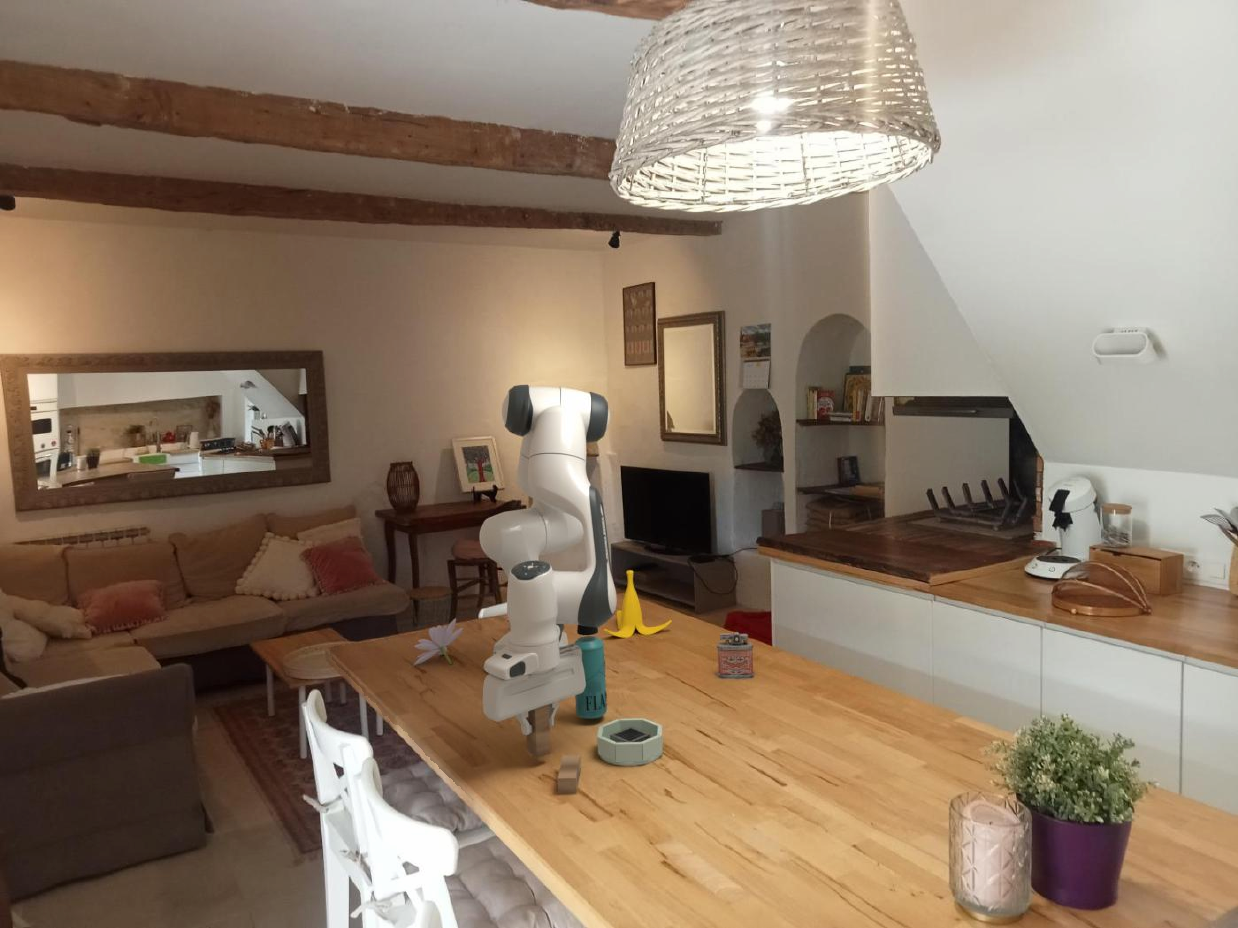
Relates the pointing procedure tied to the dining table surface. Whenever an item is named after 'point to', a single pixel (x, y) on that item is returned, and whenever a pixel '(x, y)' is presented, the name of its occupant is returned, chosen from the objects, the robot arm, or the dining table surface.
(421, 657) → the water lily
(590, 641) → the beverage bottle
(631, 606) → the banana peel
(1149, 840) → the dining table surface
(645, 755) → the faceted green bowl
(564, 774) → the small wooden block
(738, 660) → the lighter
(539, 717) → the wooden post
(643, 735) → the wick clip
